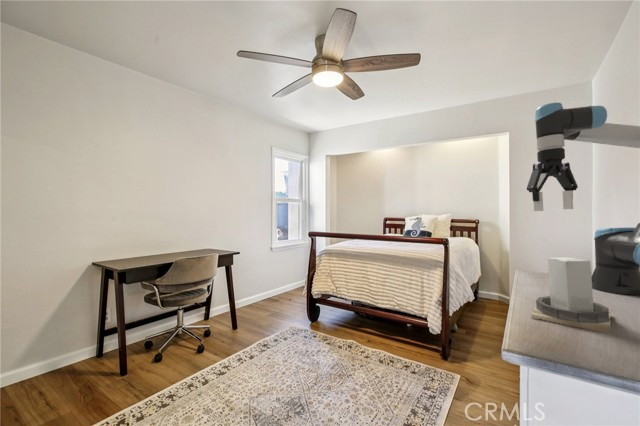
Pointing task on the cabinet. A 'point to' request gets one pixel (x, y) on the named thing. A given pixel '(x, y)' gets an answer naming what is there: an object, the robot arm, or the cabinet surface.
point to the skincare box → (570, 284)
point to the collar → (573, 315)
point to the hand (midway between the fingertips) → (553, 210)
